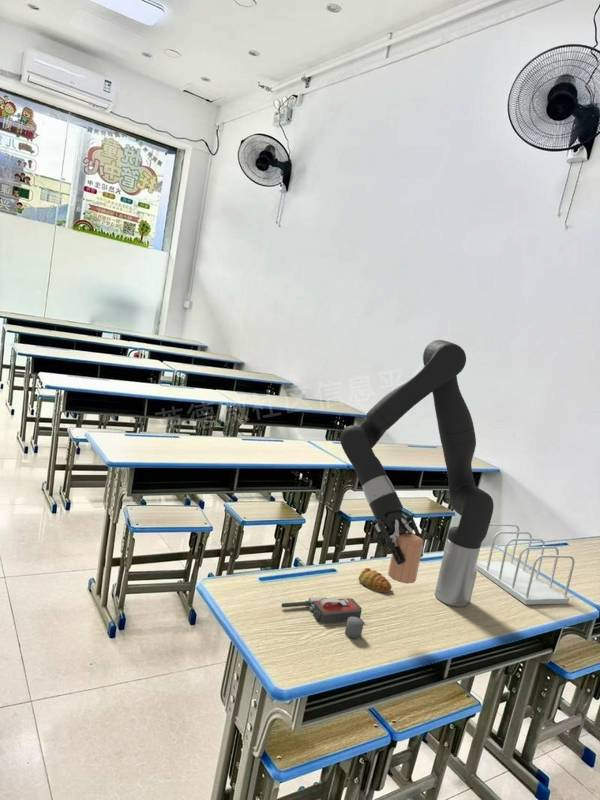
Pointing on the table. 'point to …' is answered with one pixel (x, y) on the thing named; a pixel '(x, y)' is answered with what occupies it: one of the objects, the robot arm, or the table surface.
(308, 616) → the table surface
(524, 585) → the file sorter
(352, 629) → the gray rounded pebble
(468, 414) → the robot arm
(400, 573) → the cup
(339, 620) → the walkie-talkie
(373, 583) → the pastry
